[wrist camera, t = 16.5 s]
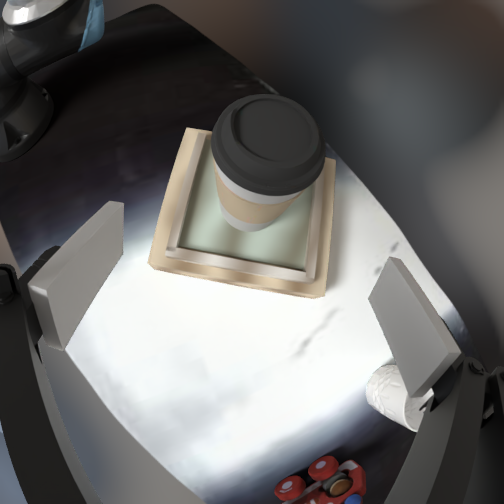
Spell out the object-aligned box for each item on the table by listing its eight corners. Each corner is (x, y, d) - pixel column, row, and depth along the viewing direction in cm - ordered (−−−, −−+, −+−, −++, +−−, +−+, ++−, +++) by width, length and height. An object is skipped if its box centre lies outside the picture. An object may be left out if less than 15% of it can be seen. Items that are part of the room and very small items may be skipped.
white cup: (402, 410, 35) (445, 426, 25) (357, 415, 34) (397, 436, 25) (410, 360, 37) (456, 365, 27) (365, 360, 36) (409, 368, 26)
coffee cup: (284, 170, 36) (326, 88, 21) (290, 241, 34) (346, 185, 19) (210, 167, 34) (214, 77, 20) (209, 241, 32) (209, 178, 18)
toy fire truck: (358, 471, 32) (394, 501, 22) (285, 515, 29) (305, 556, 19) (339, 442, 33) (375, 472, 23) (261, 489, 30) (277, 532, 20)
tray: (154, 269, 35) (144, 260, 30) (188, 144, 40) (186, 120, 34) (313, 298, 37) (329, 294, 32) (325, 173, 41) (340, 154, 36)
